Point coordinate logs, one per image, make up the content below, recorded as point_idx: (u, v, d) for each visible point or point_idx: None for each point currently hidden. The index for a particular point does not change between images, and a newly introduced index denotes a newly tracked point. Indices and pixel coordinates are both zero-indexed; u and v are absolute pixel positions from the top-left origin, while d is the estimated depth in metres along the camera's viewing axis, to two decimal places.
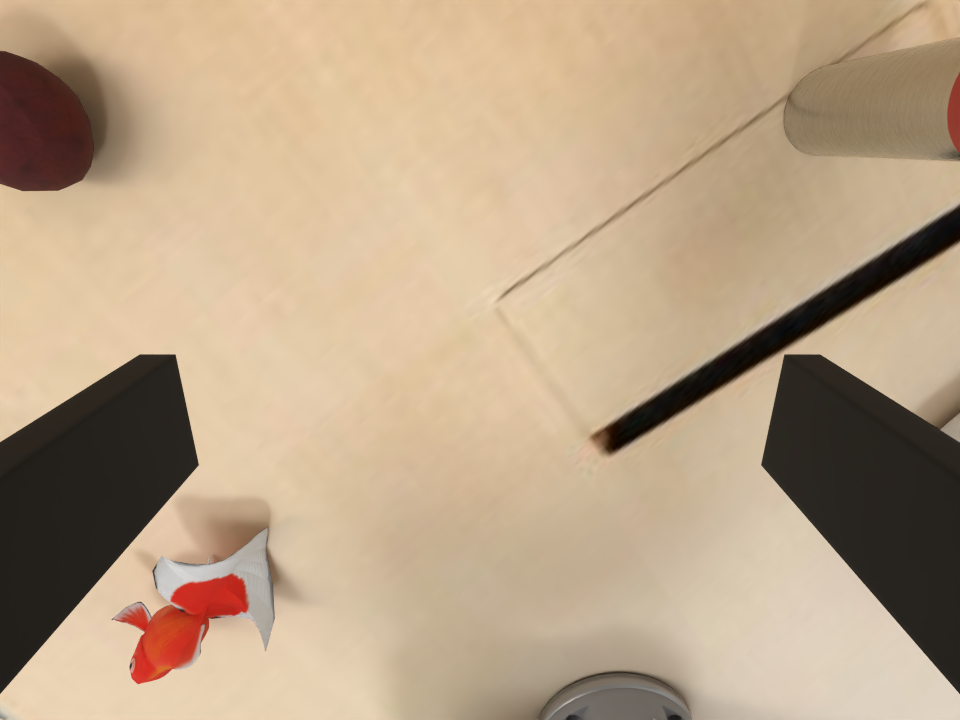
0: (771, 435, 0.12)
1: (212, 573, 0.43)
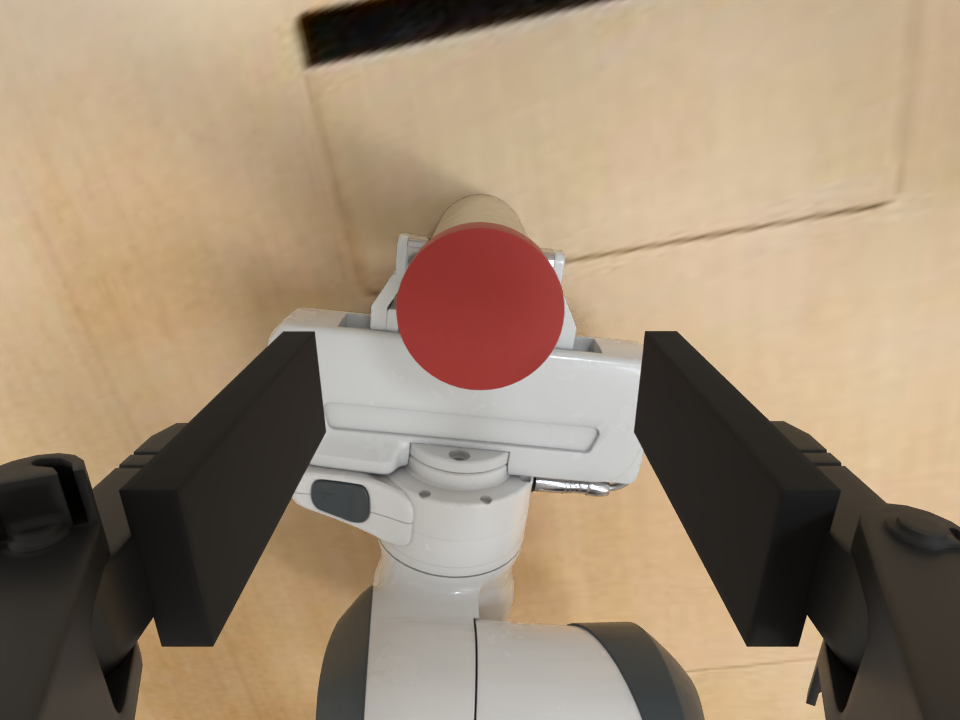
0: (638, 404, 0.14)
1: None
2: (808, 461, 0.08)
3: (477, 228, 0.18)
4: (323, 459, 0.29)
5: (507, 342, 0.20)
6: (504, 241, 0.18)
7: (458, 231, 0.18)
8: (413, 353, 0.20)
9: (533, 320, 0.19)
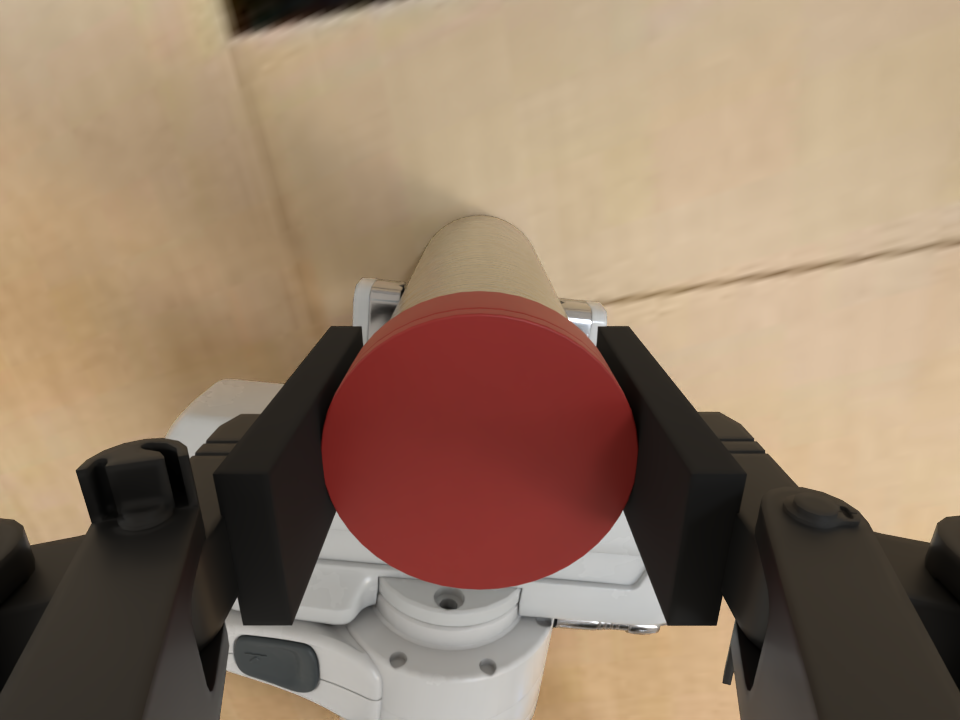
0: None
1: None
2: (723, 447, 0.08)
3: (473, 313, 0.09)
4: None
5: (529, 514, 0.11)
6: (526, 338, 0.09)
7: (436, 319, 0.09)
8: (356, 531, 0.11)
9: (579, 477, 0.10)
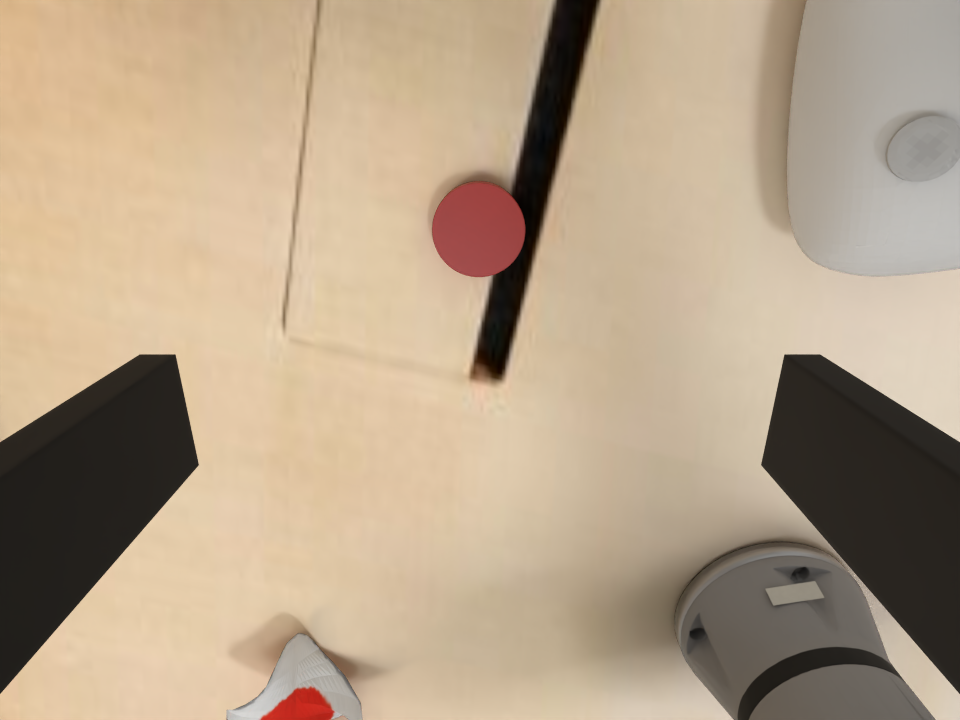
0: (771, 435, 0.12)
1: (273, 700, 0.46)
2: None
3: (432, 230, 0.35)
4: None
5: (496, 216, 0.35)
6: (439, 216, 0.35)
7: None
8: (499, 269, 0.36)
9: (484, 201, 0.34)
